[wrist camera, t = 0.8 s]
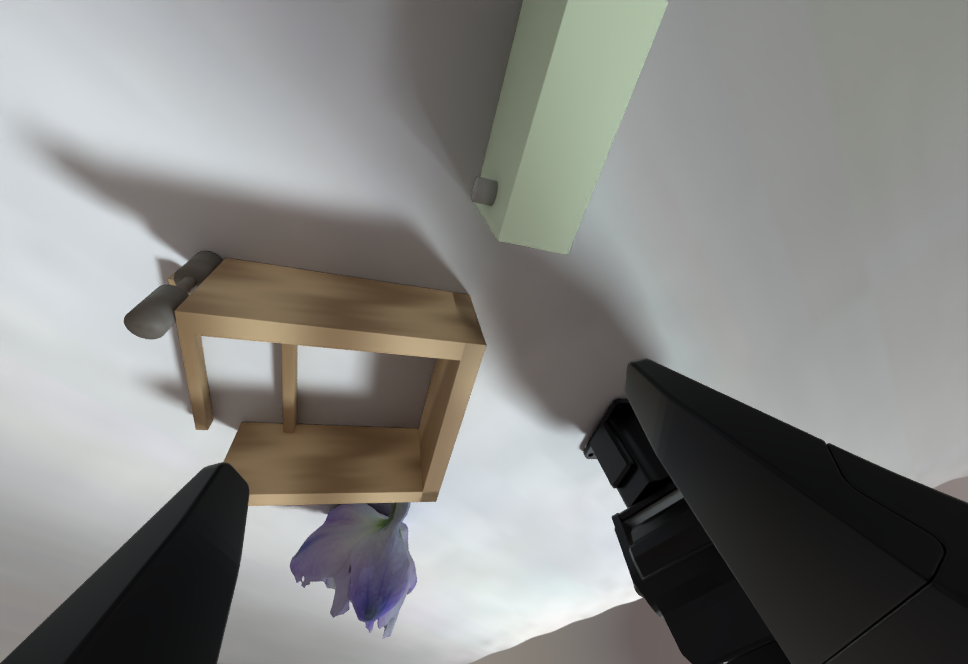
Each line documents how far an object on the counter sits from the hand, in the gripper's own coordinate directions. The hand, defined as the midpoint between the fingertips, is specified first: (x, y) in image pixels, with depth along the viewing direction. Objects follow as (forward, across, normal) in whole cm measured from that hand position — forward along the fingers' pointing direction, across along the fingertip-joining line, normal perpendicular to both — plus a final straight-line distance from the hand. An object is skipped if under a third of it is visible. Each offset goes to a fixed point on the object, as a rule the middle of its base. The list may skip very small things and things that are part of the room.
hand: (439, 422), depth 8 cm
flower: (+13, +9, +21) cm, 26 cm away
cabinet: (+13, +7, +7) cm, 16 cm away
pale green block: (+13, -6, -4) cm, 15 cm away
